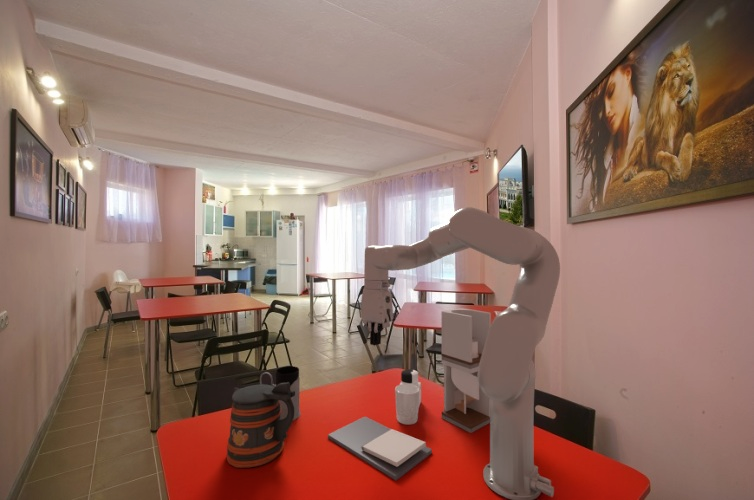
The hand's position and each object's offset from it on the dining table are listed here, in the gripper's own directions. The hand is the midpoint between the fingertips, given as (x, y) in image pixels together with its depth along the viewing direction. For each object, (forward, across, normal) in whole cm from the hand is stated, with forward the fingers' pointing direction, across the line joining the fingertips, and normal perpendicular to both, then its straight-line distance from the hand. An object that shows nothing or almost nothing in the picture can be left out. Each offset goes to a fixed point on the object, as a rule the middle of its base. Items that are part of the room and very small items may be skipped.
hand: (375, 344), depth 102 cm
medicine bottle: (+26, +1, -20) cm, 33 cm away
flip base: (+26, -7, +6) cm, 28 cm away
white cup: (+26, -5, -11) cm, 28 cm away
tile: (+23, -13, +7) cm, 27 cm away
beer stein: (+26, +13, +30) cm, 42 cm away
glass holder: (+26, +29, +16) cm, 42 cm away
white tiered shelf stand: (+26, -19, -23) cm, 40 cm away
